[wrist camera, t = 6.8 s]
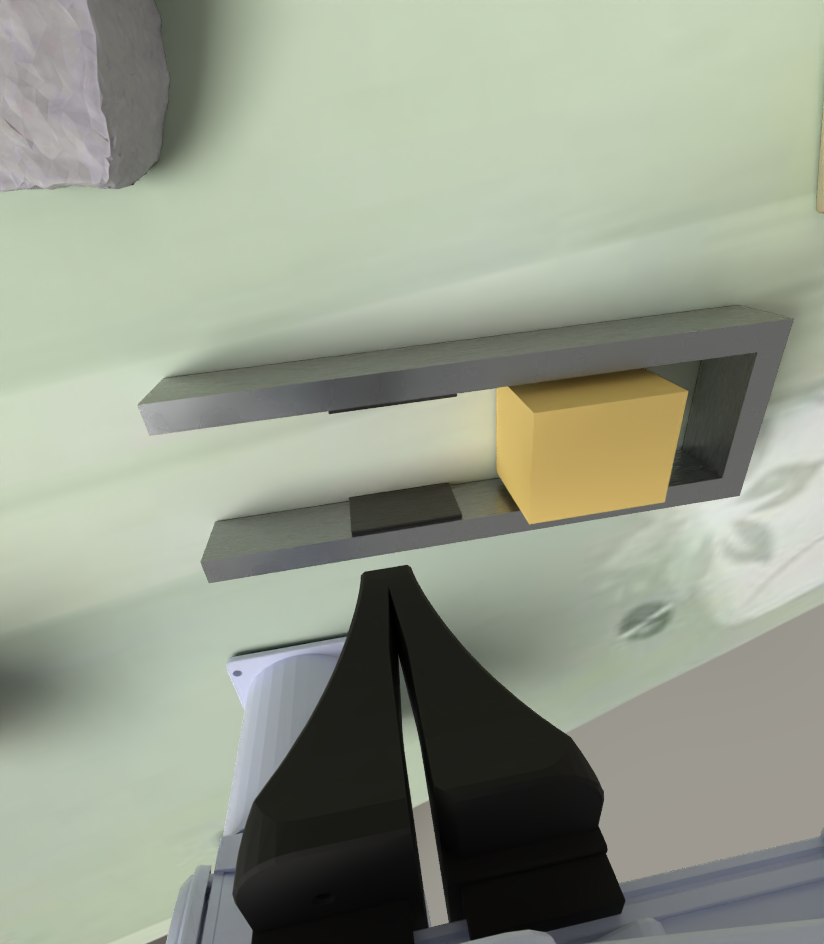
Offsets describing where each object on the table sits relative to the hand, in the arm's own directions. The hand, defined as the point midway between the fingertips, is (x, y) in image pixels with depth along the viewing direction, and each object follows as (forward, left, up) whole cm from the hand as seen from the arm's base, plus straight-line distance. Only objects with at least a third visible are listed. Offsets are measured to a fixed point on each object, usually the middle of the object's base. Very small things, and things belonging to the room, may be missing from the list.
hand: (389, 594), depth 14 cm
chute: (0, -4, -10) cm, 11 cm away
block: (0, -9, -10) cm, 14 cm away
